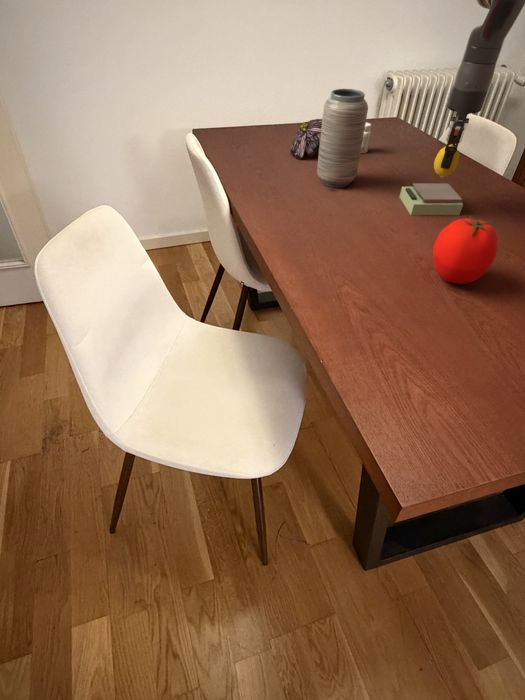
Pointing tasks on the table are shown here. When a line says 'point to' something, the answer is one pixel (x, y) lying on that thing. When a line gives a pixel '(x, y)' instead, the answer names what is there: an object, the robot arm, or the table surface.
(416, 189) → the scale pan
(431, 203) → the scale
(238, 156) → the table surface
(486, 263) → the tomato
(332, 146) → the vase
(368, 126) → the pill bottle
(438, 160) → the lemon
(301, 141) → the decorative flower
